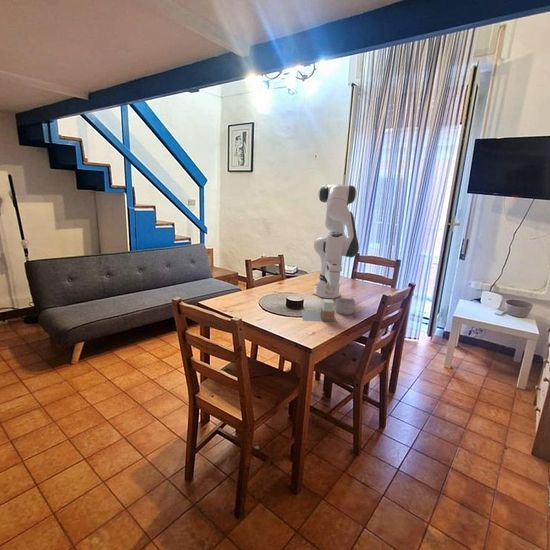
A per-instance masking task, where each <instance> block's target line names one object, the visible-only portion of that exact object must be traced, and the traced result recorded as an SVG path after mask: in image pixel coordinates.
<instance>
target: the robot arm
mask: <svg viewBox="0 0 550 550" xmlns="http://www.w3.org/2000/svg"><path fill="white" fill-rule="evenodd" d="M357 194H358V193H357V189H356V187H355V186H354V185H348V184H347V185H346V184H341V183H340V184H339V183H338V184H322V185H321V186H320V188H319V189H318V194H317V196H318V198H319V201H320V202H322V203H323V204H325V203H326V212H325V213H326V214H325V221H324V222H325V224H324V226H325V228H326V229H327V230H328V231H329V232H328V234H327V236H322V237H321V236H320V237H317V238H316V239H315V240H314V243H313V249H314V251H315V253H317V255H319V258H320V262H321V264H320V265H321V266H320V273H319V279H318V281H317V282H315V283H314V286H315V287H314V288H313V292H312V295H314V296H318V297H321V298H323V299H335V298H336V299H337V298H338V297H341V296H342V293H340V287H341V286H340V283H339V282H340V277H341V273H342V270H343V267H342V263H343V257H346V258H354V257H355V256H357V255H358V254H359V251H360V244H359V240H358V237H357V230H356V223H355V218H354V217H355V216H354V214H353V212H352V211H351V210H349V208H348V205H350V204H353V203H354V202H355V200H356V198H357ZM344 225H345V227H346V229H347V235H348V237H347V236H346V234H345V231H344ZM326 283H329V284H330V288H329V292H331V293H332V292H333V289H334V287H335V289H334V294H333V295H329V294H326Z"/></svg>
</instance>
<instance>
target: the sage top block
mask: <svg viewBox="0 0 550 550" xmlns="http://www.w3.org/2000/svg"><path fill="white" fill-rule="evenodd" d="M334 307H335V302H334V299H329V298H323V299H322V307H321V308H323V311H324V312H333V311H334V309H335V308H334Z"/></svg>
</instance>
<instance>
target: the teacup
mask: <svg viewBox="0 0 550 550" xmlns="http://www.w3.org/2000/svg"><path fill="white" fill-rule="evenodd" d="M355 306H356V300H355V299H354V298H347V297H341V298H336V299H335V311H336V312H337V313H338V314H340V315H347V316H349V315H352V314H354V312H355V309H356V308H355Z"/></svg>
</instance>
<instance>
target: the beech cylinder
mask: <svg viewBox="0 0 550 550" xmlns="http://www.w3.org/2000/svg"><path fill="white" fill-rule="evenodd" d="M329 288H330V284H329V283H326V294H329V295H333V294H334V289H335V287H334V289H333V292H332V293H331V292H329Z"/></svg>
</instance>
